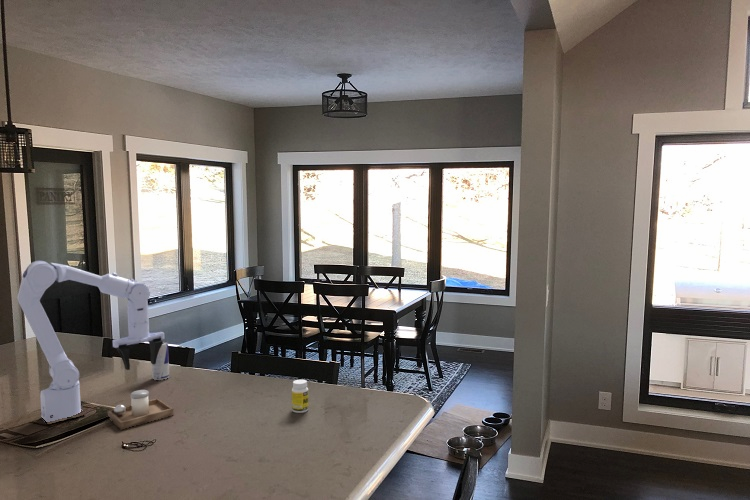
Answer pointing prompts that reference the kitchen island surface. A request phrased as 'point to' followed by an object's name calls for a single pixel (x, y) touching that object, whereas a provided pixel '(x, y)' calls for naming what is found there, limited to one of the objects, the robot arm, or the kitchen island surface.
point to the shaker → (140, 403)
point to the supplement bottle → (300, 396)
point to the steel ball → (120, 410)
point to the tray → (155, 412)
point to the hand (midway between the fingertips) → (140, 366)
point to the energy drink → (161, 364)
